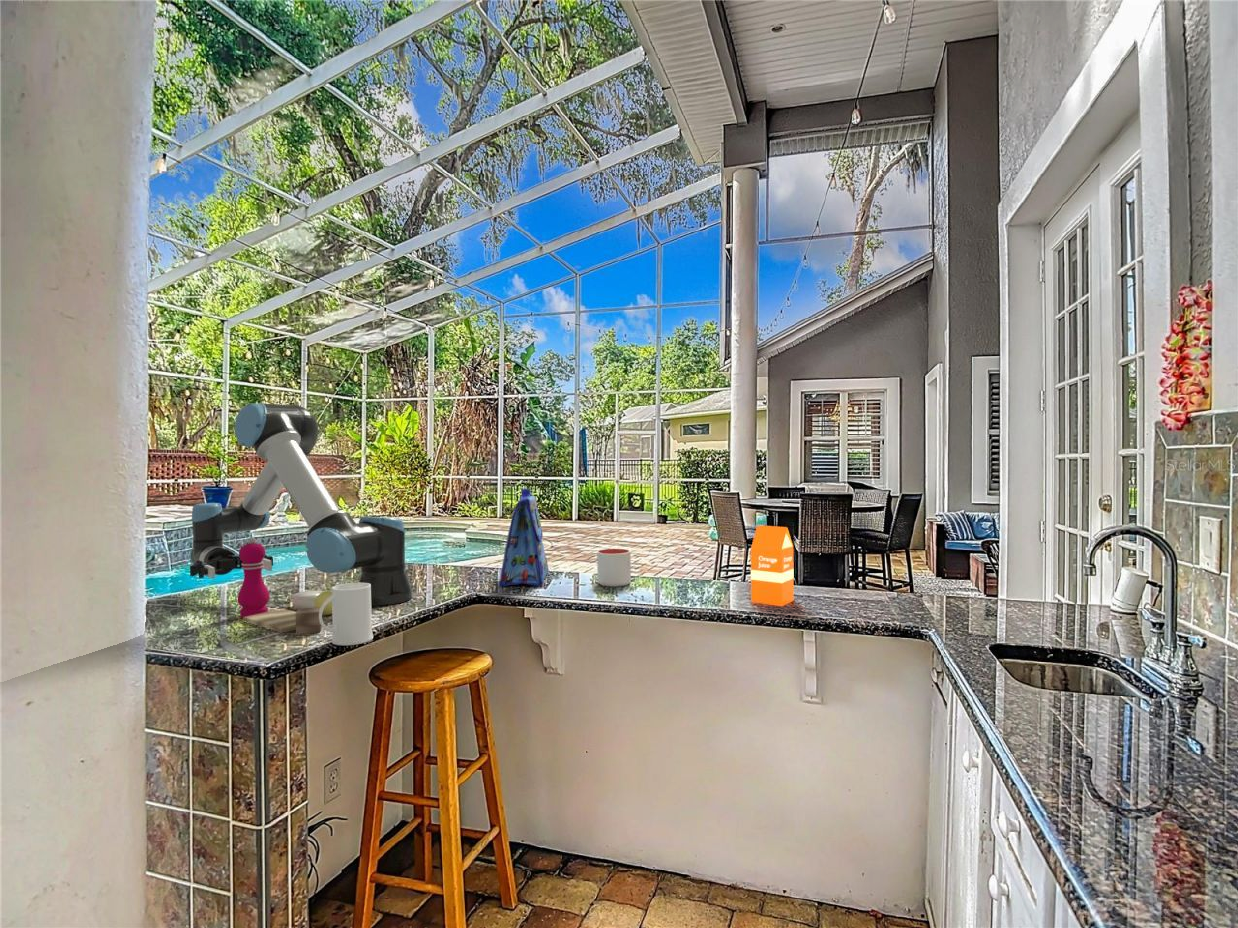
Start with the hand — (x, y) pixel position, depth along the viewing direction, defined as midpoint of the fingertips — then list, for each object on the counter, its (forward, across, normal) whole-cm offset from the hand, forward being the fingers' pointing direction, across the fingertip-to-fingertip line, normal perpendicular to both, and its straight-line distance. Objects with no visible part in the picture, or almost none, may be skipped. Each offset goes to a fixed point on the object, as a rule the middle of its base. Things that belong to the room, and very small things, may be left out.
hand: (242, 569), depth 179 cm
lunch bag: (+24, -74, -11) cm, 78 cm away
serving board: (+21, -2, -11) cm, 24 cm away
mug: (+48, -6, -11) cm, 50 cm away
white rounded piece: (+8, -14, -11) cm, 19 cm away
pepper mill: (+7, 0, -11) cm, 13 cm away
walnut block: (+34, -4, -11) cm, 35 cm away
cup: (+50, -87, -11) cm, 101 cm away
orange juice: (+98, -100, -11) cm, 140 cm away
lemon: (+21, -13, -11) cm, 27 cm away
